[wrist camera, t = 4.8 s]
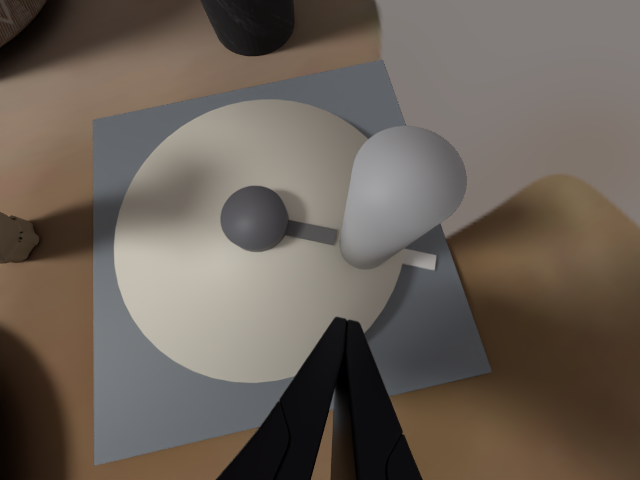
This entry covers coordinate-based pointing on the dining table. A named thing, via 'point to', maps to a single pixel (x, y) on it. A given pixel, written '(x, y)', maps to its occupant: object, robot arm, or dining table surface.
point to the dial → (273, 232)
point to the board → (259, 398)
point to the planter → (16, 16)
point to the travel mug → (251, 24)
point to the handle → (16, 239)
